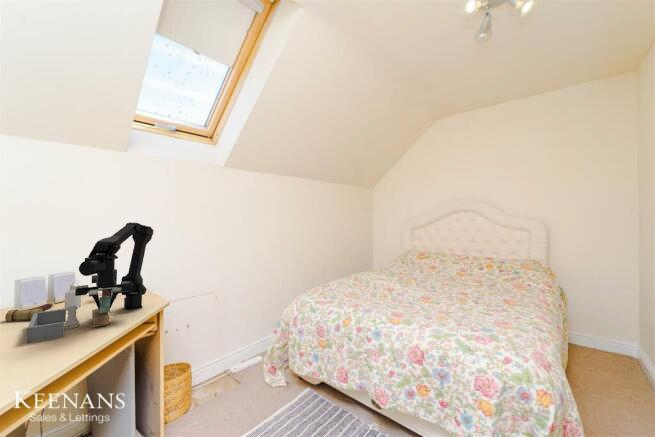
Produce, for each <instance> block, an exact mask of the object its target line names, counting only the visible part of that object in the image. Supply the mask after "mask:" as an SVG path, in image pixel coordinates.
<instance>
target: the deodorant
mask: <svg viewBox="0 0 655 437" xmlns="http://www.w3.org/2000/svg"><path fill="white" fill-rule="evenodd" d="M117 282H118V269H116V268H115V269H114V285H116V284H118V283H117ZM107 288H109V287H107ZM111 291H112V289H111V290H102V291H101V297H106V296H109V297H110V298H111ZM116 299H117V297H116V298H115V300H116Z"/></svg>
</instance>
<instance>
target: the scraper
mask: <svg viewBox="0 0 655 437" xmlns="http://www.w3.org/2000/svg"><path fill="white" fill-rule="evenodd" d="M99 303H100V310H98V308H95V309H92V310H91V318H92V325H93V328H96V327H100V326H101V327H102V326H107V325H109V324H110V316H109V313H110V312H111V308H110V297H109V296H106V297H102V296H101V297H100V296H99Z"/></svg>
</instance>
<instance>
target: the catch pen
mask: <svg viewBox="0 0 655 437" xmlns="http://www.w3.org/2000/svg"><path fill="white" fill-rule="evenodd" d="M66 314H67V309H65V308H61V309H60V308H59V309H52V310H45V311H43V312H36V313H34V314H33V317H32V319H31V320H29V321H30V322H29V323H28V326H27V333H26V334H27V335H26V343H27V344H30V343H34V342H39V341H47V340H53V339H58V338H64V336H65V328H64V326H65V325H64V324H65V323H66V321H67V318H66V317H67V316H66Z"/></svg>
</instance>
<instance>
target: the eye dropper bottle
mask: <svg viewBox="0 0 655 437" xmlns="http://www.w3.org/2000/svg"><path fill="white" fill-rule="evenodd" d="M77 286H78V284H77V283H76V282H75V281H72V284H70V286H69V290H67V291H66V292H64V309H66V310H67V309H68V307H70V306H72V307H73V306H77V308H78V309H79V308H80V307H81V306H82V295H81V296H75V288H76V287H77Z"/></svg>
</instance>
